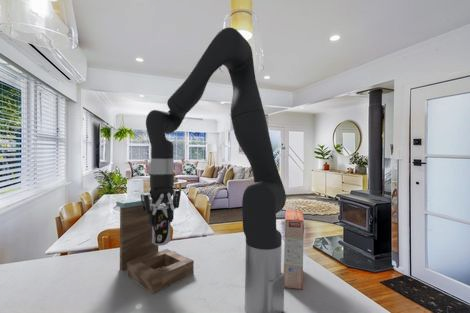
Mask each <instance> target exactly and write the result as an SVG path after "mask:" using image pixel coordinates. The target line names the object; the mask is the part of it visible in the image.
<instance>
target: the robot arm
mask: <svg viewBox="0 0 470 313" xmlns="http://www.w3.org/2000/svg"><path fill="white" fill-rule="evenodd" d="M253 56H254V54H253V49H252V46H251V45H250V42H248V40H247V39H246V38H245V37H244V36H243V35H242V34H241V33H240V32H239V31H238V30H237V29H236V28H234V27H224V28H222V29H220V31H218V32H217V34H216V35H215V36H214V37H213V38H212V40H211V41H210V43H209V44H208V46H207V47H206V49H205V51H204V52H203V54H202V55H201V57H200V58H199V60H198V61H197V63H196V65H194V67H193V69H192V71H191V72H190V73H189V75H188V76H187V78H186V79H185V80H184V81H183V83H181V85H180V86H179V87H178V88H177V89H176V90H175V91H174V92H173V93H172V95H171V96H170V97H169V98H168V99H167V107H168V109H169V110H168V111H164V110H160V109H153V110H150V111H149V112H148V114H147V116H146V119H145V127H146V128H145V129H146V132H147V136H148V141H149V144H150V164H149V188H150V191H149V192H148V193H145V194H144V193H142V194H140V198H141V202H142V209H143V212H144V213H147V214H149V224H150V225H151V226H156V214H155V213H156V211H157V208H159V206H161V205H162V204H164V206H168V207H169V210H170V212H171V218H170V223H172V222H173V220H174V211H175V210H176V209H178V208H179V206H180V201H181V193H182V191H181V190H179V189H174V188H173V187H174V186H175V185H174V184H175V164H174V163H175V162H174V143H173V142H172V141H170V140H169V139H167V136H166V134H172V133H174V132H176V131H177V130H179V128H180V126H181V124H182V123H183V121H184V120H185V117H186V115H187V114H188V113H189V112H190V111H191V110H192V109H193V108H195V106H196V105H197V104H198V102H200V100H201V99H202V97H203V95H204V93H205V90H206V88H207V84H208V83H209V80H210V78H211V77H212V76H213V75H214V73H216V71H217V70H218V69H220V68H221V67H222V66H224V67H226V69H227V71H228V73H229V77H230V82H231V86H232V98H231V104H230V119H231V122H232V123H231V124H232V129H233V132H234V136H235V139H236V141H237V143H238V145H239V147H240V149H241V150H242V152H243V154H244V155H245V157H246V159H247V160H248V162H249V164H250V167H251V171H252V175H253V182H252V183H250V184H249V185H248V186H247V187H246V188H245V189H244V191H243V194H242V198H241V199H242V202H241V205H242V207H241V210H242V211H241V212H242V214H241V216H242V217H241V218H242V230H243V233H244V236H245V267H244V268H245V269H244V270H245V271H244V272H245V274H244V276H245V277H244V278H245V279H244V283H245V284H244V311H245V312H246V313H282V312H284V310H285V287H284V272H282V241H283V240H282V233H281V231H280V230H278V229H277V214H278V213H280V211H282V210H283V209H284V207H285V205H286V202H287V195H286V194H287V193H286V190H285V187H284V183H283V181H282V178H281V176H280V172H279V169H278V166H277V164H276V159H275V154H274V150H273V146H272V141H271V137H270V133H269V127H268V122H267V118H266V114H265V110H264V106H263V102H262V97H261V94H260V91H259V88H258V84H257V78H256V74H255V73H256V70H255V65H254V57H253ZM150 197H151V198H152V200H151V203H150V204H149V200H150ZM155 203H156V204H155Z"/></svg>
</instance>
